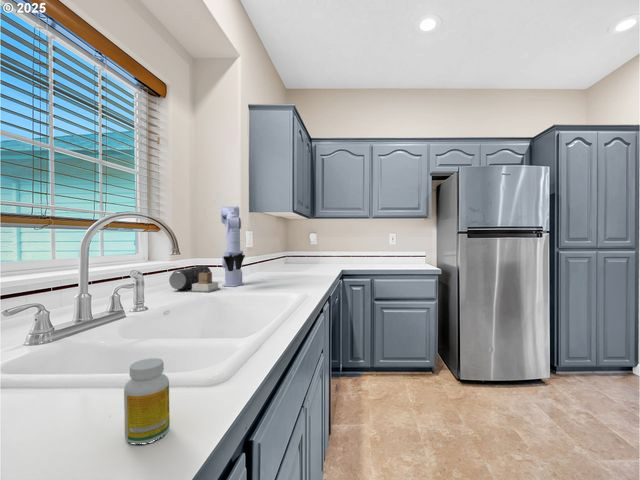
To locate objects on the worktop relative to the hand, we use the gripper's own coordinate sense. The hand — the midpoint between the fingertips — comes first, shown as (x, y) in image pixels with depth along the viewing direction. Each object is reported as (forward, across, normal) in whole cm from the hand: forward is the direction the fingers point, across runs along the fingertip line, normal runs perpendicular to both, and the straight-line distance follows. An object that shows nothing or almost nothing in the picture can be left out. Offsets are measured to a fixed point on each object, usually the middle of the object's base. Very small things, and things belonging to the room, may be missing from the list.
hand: (234, 270), depth 165 cm
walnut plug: (+9, -5, +13) cm, 16 cm away
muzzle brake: (+10, +2, +26) cm, 28 cm away
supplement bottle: (+10, -111, -48) cm, 121 cm away
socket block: (+9, -5, +13) cm, 17 cm away
